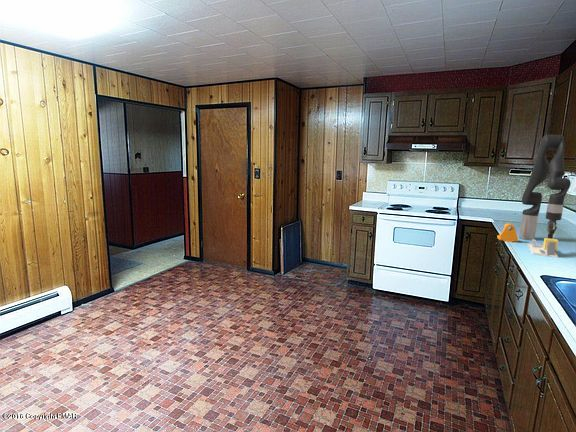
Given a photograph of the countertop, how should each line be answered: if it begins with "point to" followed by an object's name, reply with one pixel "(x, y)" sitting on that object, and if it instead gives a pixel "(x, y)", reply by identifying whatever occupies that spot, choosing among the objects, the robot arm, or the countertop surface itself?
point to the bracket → (508, 234)
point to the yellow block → (546, 242)
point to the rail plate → (540, 251)
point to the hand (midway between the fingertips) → (549, 239)
